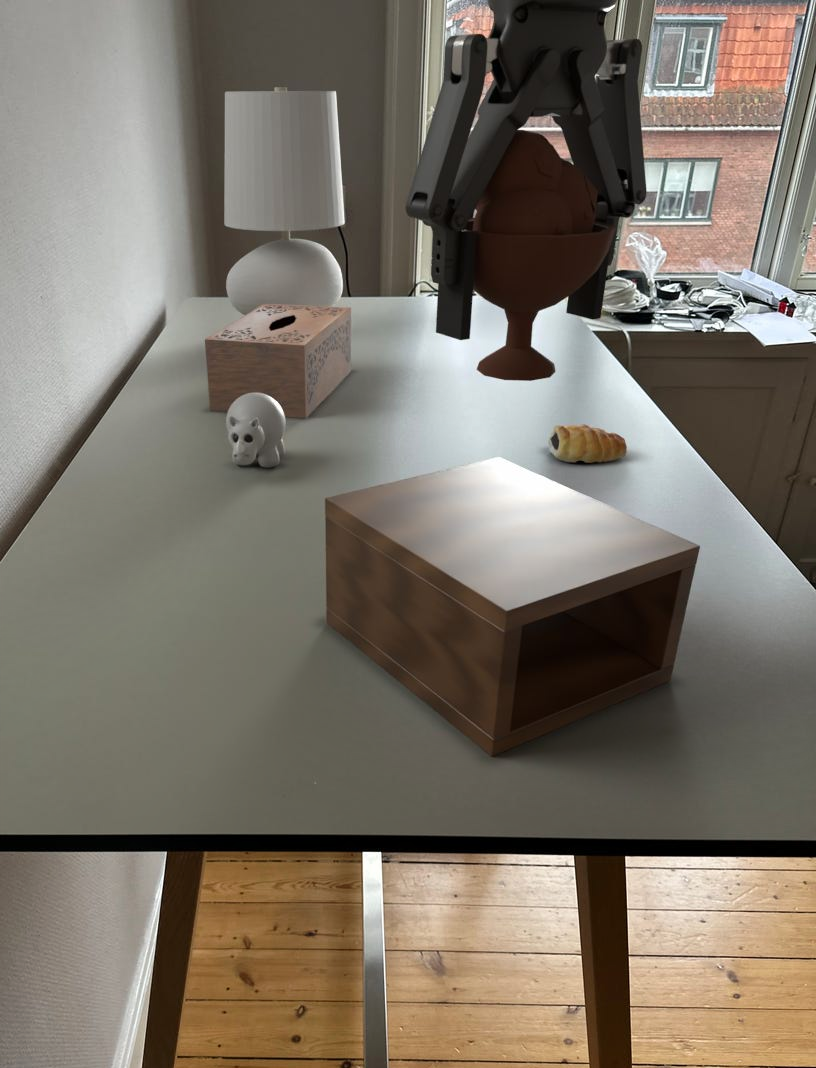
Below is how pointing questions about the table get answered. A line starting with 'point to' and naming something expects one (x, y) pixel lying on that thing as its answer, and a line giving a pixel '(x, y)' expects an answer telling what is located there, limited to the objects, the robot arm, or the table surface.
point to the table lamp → (283, 195)
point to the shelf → (505, 596)
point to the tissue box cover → (280, 356)
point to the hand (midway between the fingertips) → (520, 325)
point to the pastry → (585, 444)
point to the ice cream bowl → (533, 246)
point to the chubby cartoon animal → (256, 430)
